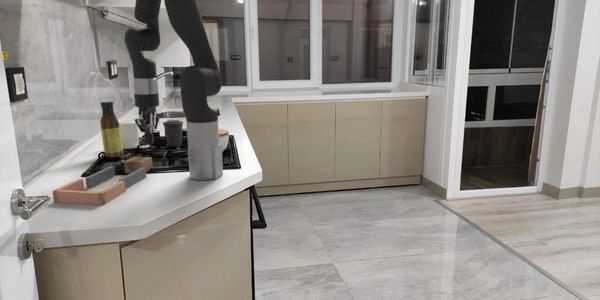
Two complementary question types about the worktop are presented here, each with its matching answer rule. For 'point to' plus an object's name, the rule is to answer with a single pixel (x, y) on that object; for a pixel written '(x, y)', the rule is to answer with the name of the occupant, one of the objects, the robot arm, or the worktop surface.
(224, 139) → the lidded jar
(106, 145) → the sauce bottle
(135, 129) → the white cup
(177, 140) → the coffee cup
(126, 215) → the worktop surface
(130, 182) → the tunnel
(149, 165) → the walnut block
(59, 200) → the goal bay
